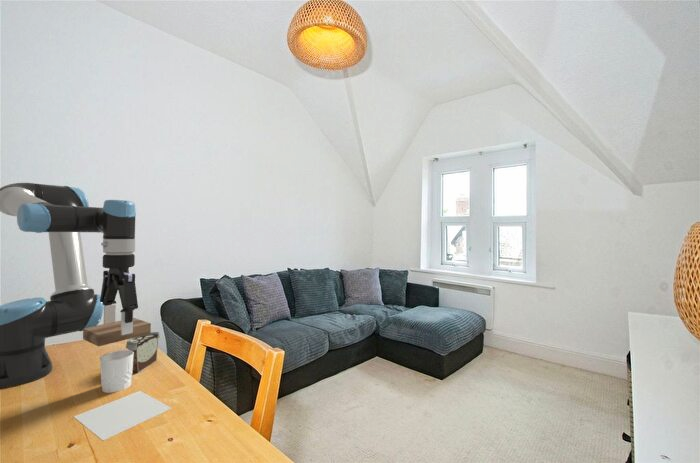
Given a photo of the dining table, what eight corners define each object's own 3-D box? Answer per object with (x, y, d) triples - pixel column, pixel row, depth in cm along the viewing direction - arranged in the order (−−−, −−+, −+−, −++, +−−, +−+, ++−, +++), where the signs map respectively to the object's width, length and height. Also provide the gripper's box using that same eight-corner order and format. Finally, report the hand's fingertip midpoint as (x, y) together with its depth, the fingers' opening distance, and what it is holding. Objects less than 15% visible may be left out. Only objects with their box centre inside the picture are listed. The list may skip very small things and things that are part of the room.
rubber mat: (73, 419, 78) (73, 416, 78) (140, 393, 90) (140, 390, 90) (102, 444, 69) (103, 440, 69) (171, 411, 82) (171, 408, 82)
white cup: (115, 398, 88) (116, 362, 88) (92, 394, 89) (92, 359, 89) (139, 384, 95) (140, 351, 95) (117, 381, 97) (118, 348, 97)
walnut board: (82, 339, 89) (83, 328, 89) (133, 327, 100) (134, 318, 100) (98, 346, 84) (98, 335, 84) (150, 333, 95) (150, 323, 95)
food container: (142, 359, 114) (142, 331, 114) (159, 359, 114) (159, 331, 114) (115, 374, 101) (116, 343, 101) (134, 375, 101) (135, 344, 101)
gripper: (86, 252, 95) (85, 326, 95) (123, 256, 83) (121, 341, 83) (115, 251, 101) (114, 320, 101) (153, 255, 89) (152, 334, 90)
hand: (117, 330), depth 92 cm, fingers closed on walnut board, 10 cm apart
